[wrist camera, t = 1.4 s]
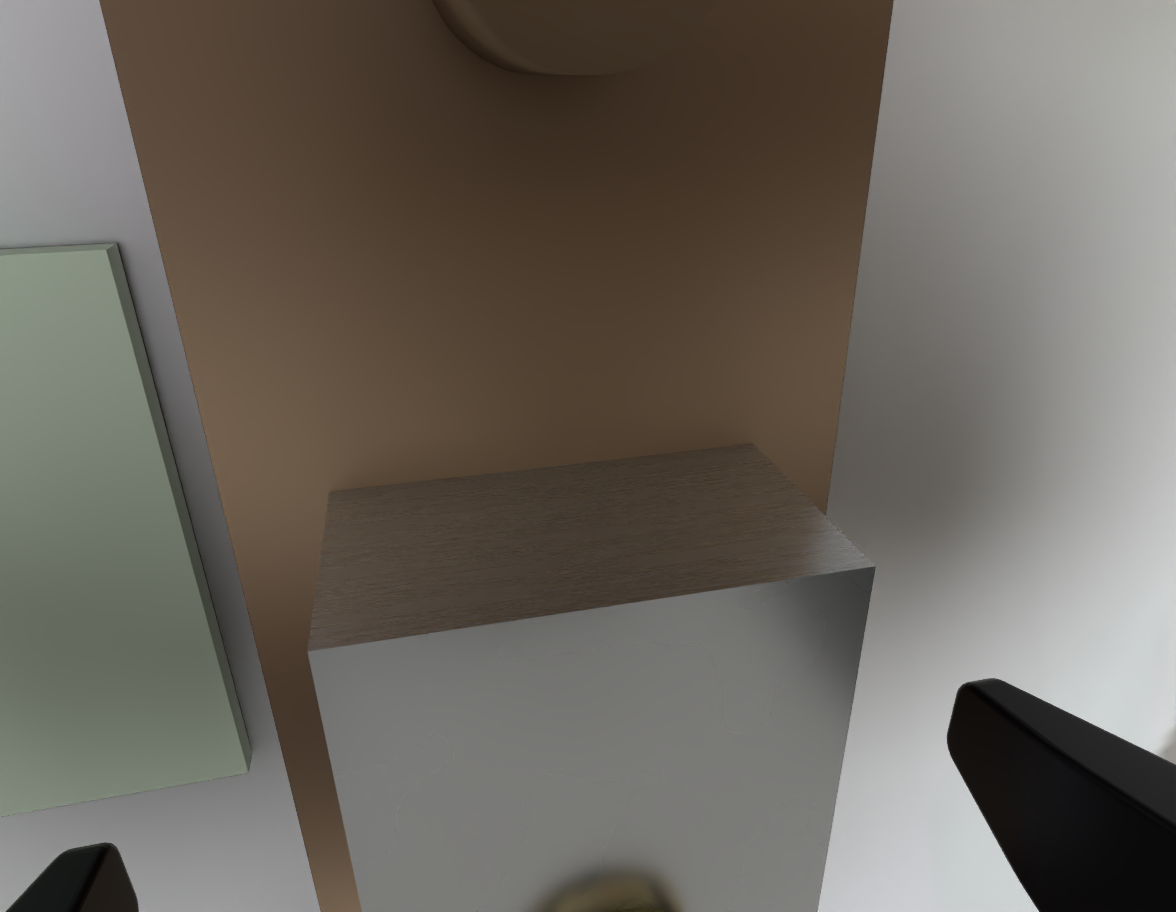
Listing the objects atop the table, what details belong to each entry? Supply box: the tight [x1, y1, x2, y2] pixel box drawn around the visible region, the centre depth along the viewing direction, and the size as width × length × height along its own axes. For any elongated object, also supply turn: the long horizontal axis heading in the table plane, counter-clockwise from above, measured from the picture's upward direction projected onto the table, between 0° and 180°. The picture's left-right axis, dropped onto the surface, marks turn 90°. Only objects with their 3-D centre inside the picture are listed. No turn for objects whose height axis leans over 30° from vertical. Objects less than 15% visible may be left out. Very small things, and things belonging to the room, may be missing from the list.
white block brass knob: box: [308, 443, 875, 912], centre depth 8 cm, size 6×4×3 cm
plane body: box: [99, 0, 894, 912], centre depth 10 cm, size 18×7×6 cm, turn 1°
